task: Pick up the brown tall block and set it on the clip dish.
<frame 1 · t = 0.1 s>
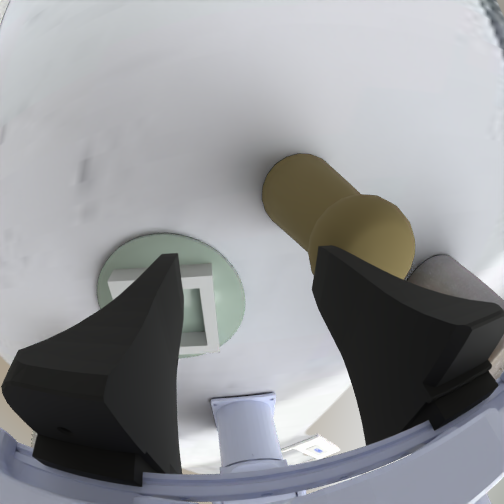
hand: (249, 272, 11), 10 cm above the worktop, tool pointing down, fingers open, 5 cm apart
pillar candle: (428, 287, 28), on the worktop
cork: (300, 192, 20), on the worktop, touching gripper
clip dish: (169, 303, 23), on the worktop
photo frame: (289, 455, 46), on the worktop
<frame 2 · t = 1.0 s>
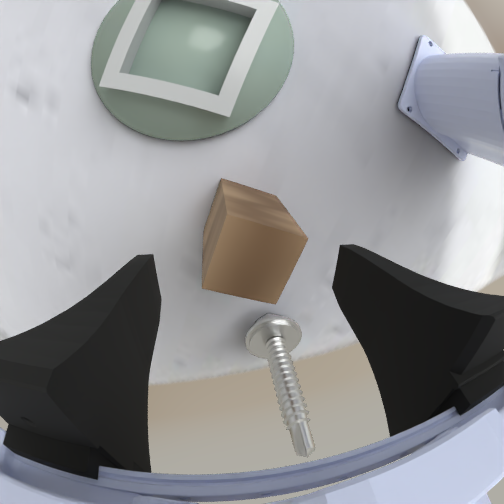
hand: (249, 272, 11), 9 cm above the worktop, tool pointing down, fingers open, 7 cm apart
brown tall block: (239, 213, 19), on the worktop
screw: (269, 322, 25), on the worktop
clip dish: (189, 45, 13), on the worktop
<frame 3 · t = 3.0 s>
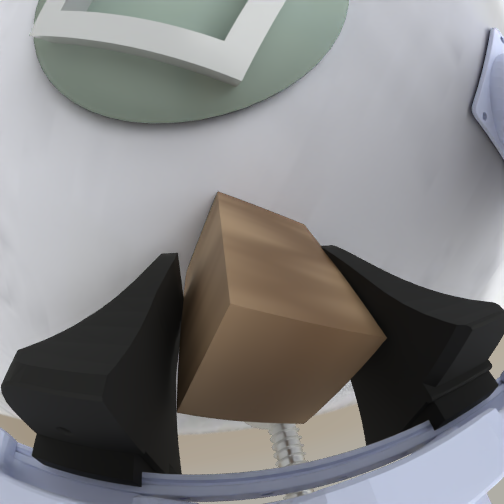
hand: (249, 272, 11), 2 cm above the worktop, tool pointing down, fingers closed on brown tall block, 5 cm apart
brown tall block: (244, 249, 12), on the worktop, touching gripper
screw: (272, 384, 18), on the worktop
when the fingers open (3 cm above the worktop, at t = 8.5 s): brown tall block stays where it is, resting on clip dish.
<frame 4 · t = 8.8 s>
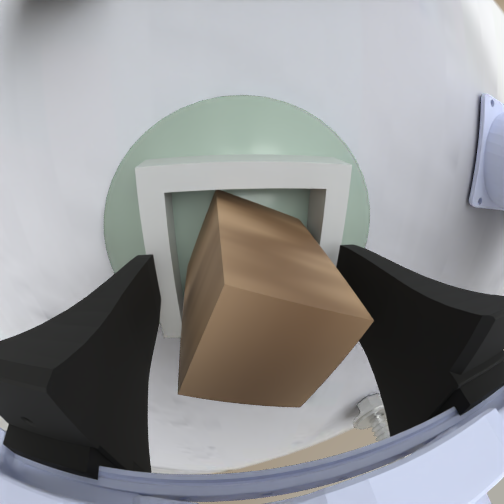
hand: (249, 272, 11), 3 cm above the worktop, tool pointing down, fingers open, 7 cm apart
brown tall block: (242, 243, 13), point 1 cm above the worktop, touching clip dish
screw: (367, 399, 24), on the worktop
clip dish: (240, 236, 13), on the worktop
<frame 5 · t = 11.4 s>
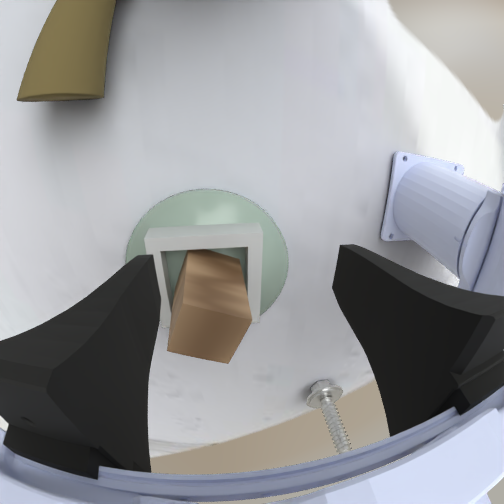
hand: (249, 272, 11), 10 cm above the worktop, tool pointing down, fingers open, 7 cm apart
brown tall block: (206, 273, 22), point 1 cm above the worktop, touching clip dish
screw: (319, 384, 33), on the worktop
cork: (59, 100, 12), point 3 cm above the worktop
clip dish: (206, 268, 22), on the worktop
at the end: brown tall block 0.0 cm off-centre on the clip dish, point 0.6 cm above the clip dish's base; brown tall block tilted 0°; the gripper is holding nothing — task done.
